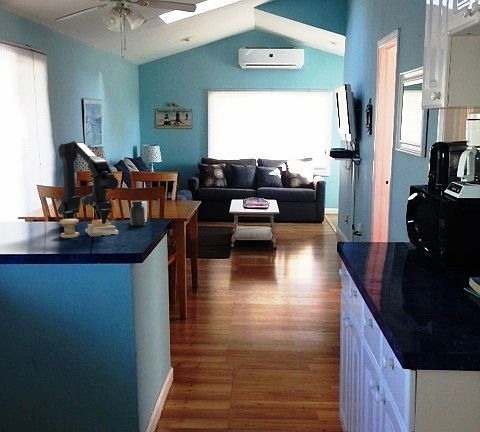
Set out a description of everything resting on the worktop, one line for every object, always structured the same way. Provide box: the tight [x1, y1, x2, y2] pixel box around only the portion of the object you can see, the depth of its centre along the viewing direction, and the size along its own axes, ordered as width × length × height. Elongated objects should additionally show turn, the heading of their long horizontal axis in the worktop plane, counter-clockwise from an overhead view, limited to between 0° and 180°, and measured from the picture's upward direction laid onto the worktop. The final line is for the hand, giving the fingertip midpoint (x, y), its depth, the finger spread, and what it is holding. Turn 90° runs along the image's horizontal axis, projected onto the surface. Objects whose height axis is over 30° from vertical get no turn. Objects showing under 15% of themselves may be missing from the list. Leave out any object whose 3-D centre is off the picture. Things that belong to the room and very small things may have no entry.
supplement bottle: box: [129, 200, 146, 227], centre depth 271 cm, size 7×7×12 cm
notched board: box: [85, 222, 119, 238], centre depth 253 cm, size 12×12×4 cm
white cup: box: [131, 200, 148, 223], centre depth 282 cm, size 8×8×10 cm
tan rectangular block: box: [91, 218, 110, 227], centre depth 253 cm, size 4×7×4 cm, turn 117°
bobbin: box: [59, 218, 80, 239], centre depth 247 cm, size 8×8×7 cm
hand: (101, 222), depth 253 cm, fingers open, 9 cm apart
